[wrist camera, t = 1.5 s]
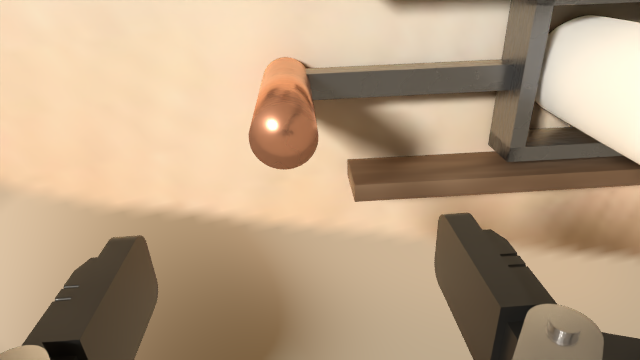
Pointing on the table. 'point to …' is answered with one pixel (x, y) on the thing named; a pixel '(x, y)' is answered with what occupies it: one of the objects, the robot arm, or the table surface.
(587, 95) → the can
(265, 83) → the pull frame
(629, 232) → the table surface
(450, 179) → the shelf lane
